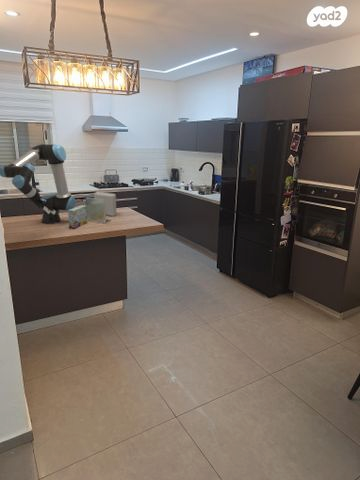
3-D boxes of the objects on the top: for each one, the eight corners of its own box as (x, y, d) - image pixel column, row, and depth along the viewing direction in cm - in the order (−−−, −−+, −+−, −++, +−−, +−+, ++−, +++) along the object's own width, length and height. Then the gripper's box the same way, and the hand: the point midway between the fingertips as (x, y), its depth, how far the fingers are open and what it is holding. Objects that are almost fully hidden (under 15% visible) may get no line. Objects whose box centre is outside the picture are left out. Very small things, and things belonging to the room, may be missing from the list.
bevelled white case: (118, 215, 306) (117, 193, 300) (112, 216, 299) (112, 195, 293) (99, 212, 314) (98, 191, 308) (94, 214, 307) (93, 192, 301)
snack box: (75, 229, 258) (73, 210, 254) (68, 228, 259) (67, 210, 255) (87, 222, 278) (86, 205, 273) (81, 222, 279) (80, 204, 274)
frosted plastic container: (87, 220, 284) (85, 197, 278) (93, 218, 292) (92, 196, 286) (104, 223, 277) (103, 199, 271) (110, 220, 285) (109, 198, 279)
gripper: (19, 196, 222) (40, 215, 241) (38, 199, 216) (59, 218, 235) (24, 188, 225) (45, 207, 244) (43, 190, 219) (63, 209, 238)
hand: (52, 212), depth 240 cm, fingers open, 4 cm apart
